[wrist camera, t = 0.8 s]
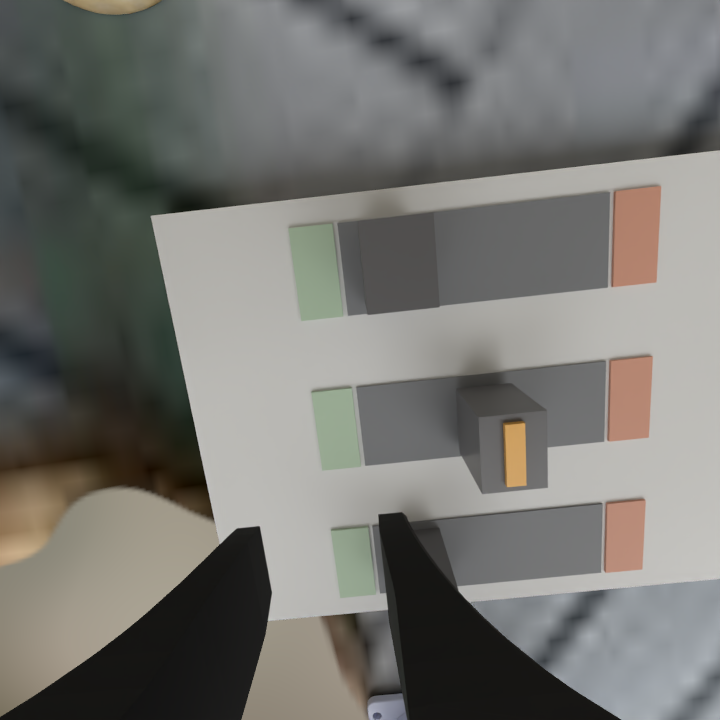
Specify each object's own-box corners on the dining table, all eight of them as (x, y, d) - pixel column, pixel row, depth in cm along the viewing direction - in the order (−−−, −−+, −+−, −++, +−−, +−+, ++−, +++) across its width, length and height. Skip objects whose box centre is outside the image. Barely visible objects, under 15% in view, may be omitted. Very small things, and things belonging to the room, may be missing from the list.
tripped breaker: (513, 446, 19) (550, 490, 15) (459, 452, 19) (483, 497, 15) (511, 382, 18) (549, 412, 14) (455, 388, 18) (480, 419, 14)
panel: (724, 555, 22) (841, 647, 17) (244, 600, 23) (208, 704, 17) (765, 151, 18) (941, 101, 12) (167, 219, 18) (87, 200, 13)
